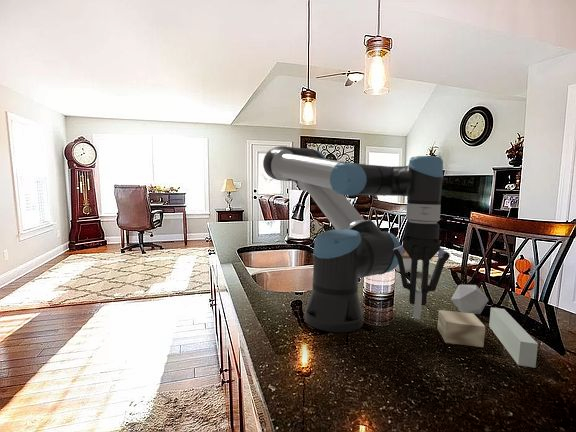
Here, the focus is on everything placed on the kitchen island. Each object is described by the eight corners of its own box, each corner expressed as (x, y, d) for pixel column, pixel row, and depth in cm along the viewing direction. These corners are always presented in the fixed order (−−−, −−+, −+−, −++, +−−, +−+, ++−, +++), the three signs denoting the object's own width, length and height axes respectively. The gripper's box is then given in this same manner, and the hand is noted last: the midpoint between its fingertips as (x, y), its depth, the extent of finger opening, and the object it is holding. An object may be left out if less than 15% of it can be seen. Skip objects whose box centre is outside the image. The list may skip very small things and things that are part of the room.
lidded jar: (391, 273, 137) (392, 250, 136) (387, 267, 148) (389, 246, 147) (418, 275, 135) (420, 252, 134) (413, 268, 146) (414, 247, 145)
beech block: (445, 343, 77) (446, 322, 76) (437, 329, 84) (438, 309, 84) (483, 348, 75) (485, 326, 74) (471, 332, 83) (473, 313, 82)
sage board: (518, 365, 68) (520, 341, 67) (489, 326, 87) (490, 307, 86) (535, 367, 67) (538, 343, 66) (502, 327, 86) (504, 308, 85)
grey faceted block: (484, 323, 90) (498, 292, 92) (455, 305, 91) (470, 275, 94) (468, 322, 98) (481, 293, 100) (441, 305, 99) (455, 278, 101)
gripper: (394, 221, 78) (389, 319, 80) (455, 224, 74) (448, 326, 76) (393, 219, 85) (388, 308, 87) (449, 221, 82) (443, 315, 84)
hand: (416, 317), depth 82 cm, fingers closed
